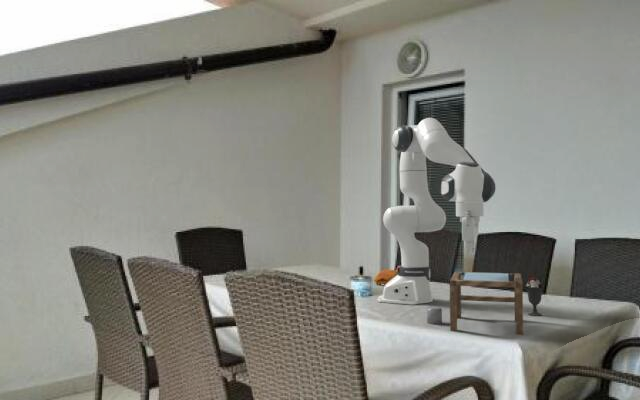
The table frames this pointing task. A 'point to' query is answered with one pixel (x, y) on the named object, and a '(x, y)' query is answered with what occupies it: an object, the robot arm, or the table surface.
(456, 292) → the stand
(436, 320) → the gray cylinder
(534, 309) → the sundae
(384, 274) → the croissant
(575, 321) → the table surface
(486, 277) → the trapdoor
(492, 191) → the robot arm
